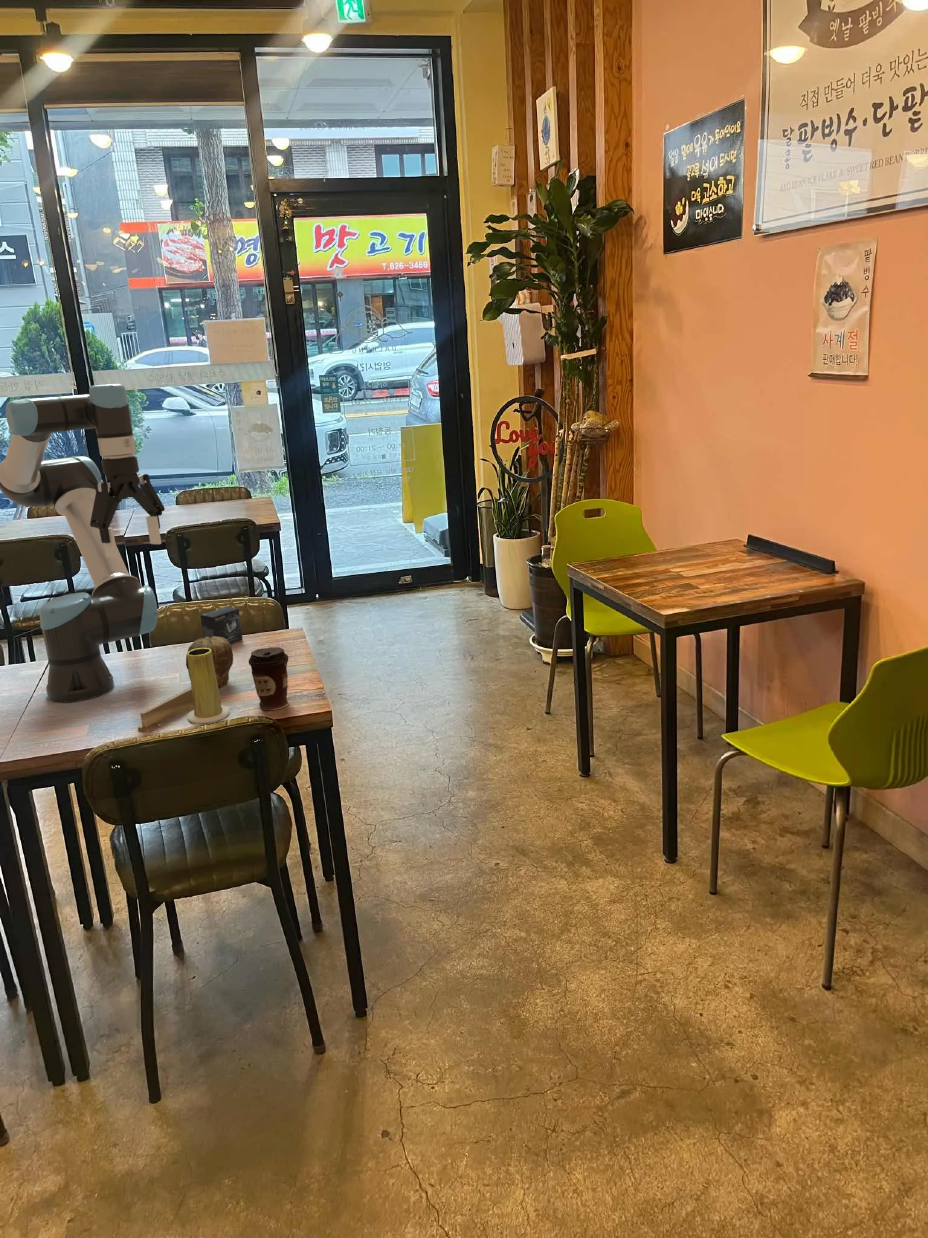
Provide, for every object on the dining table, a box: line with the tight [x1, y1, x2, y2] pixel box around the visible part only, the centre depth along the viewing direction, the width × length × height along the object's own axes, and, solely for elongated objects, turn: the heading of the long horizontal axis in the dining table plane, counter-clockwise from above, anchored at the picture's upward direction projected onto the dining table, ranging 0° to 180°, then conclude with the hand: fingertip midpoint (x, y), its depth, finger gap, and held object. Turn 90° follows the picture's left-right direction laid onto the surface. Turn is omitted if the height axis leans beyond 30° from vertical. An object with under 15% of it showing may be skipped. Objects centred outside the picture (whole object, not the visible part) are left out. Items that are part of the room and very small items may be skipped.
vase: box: [186, 648, 223, 718], centre depth 196 cm, size 6×6×14 cm
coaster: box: [186, 704, 230, 725], centre depth 198 cm, size 9×9×1 cm
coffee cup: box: [248, 646, 289, 711], centre depth 199 cm, size 9×8×13 cm
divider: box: [137, 686, 194, 733], centre depth 199 cm, size 3×19×4 cm, turn 155°
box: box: [199, 606, 243, 646], centre depth 246 cm, size 9×6×10 cm, turn 147°
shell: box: [185, 636, 234, 689], centre depth 215 cm, size 11×11×12 cm
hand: (134, 550), depth 204 cm, fingers open, 13 cm apart
